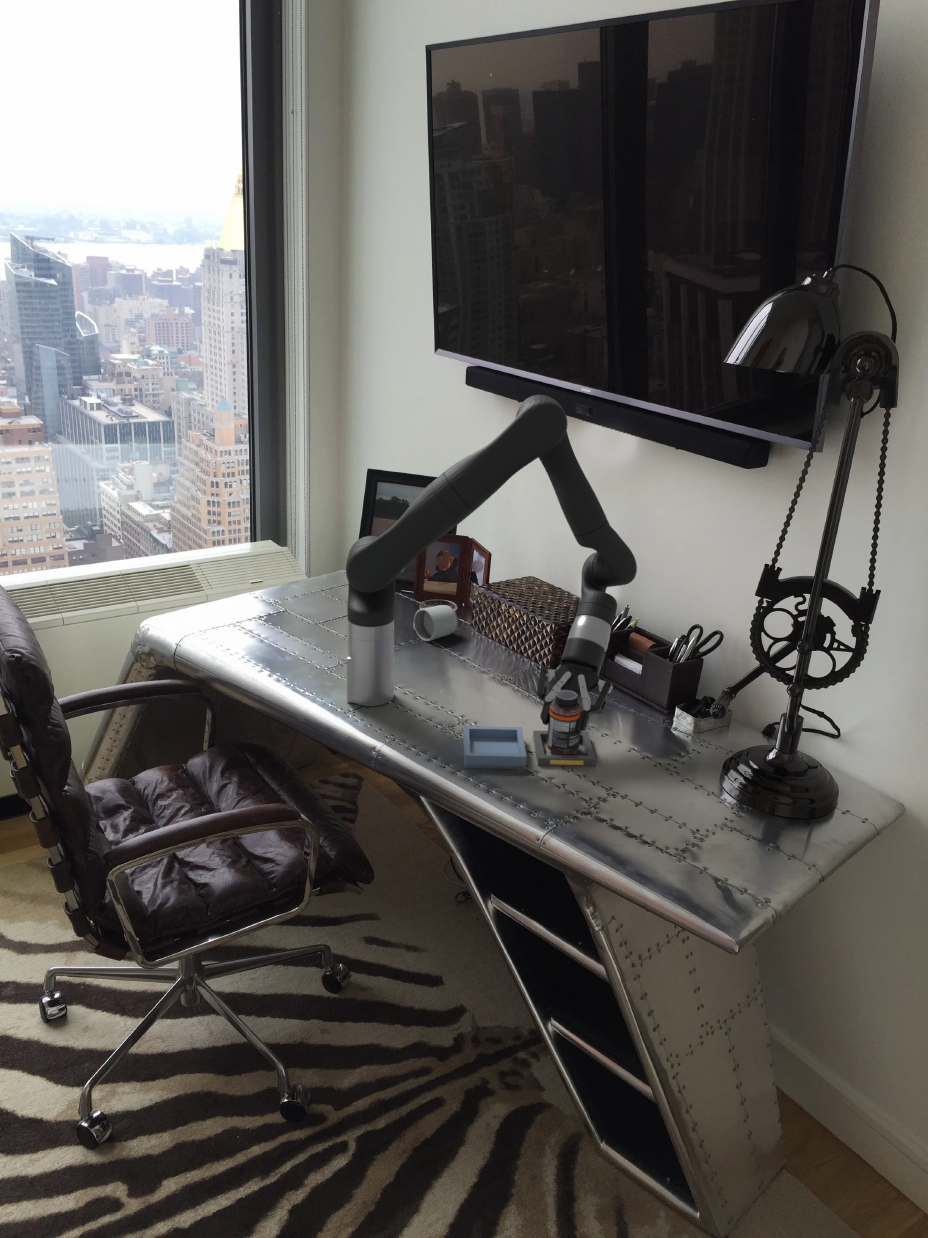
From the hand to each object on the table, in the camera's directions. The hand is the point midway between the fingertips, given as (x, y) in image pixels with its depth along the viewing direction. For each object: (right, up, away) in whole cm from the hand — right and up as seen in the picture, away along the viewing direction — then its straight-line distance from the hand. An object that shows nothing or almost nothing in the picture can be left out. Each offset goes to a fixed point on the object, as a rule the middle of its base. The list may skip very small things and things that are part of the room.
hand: (561, 727), depth 180 cm
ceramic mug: (-25, +16, +53) cm, 61 cm away
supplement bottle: (0, -5, +4) cm, 6 cm away
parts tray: (-12, -5, +2) cm, 14 cm away
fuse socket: (+1, -5, +4) cm, 6 cm away
